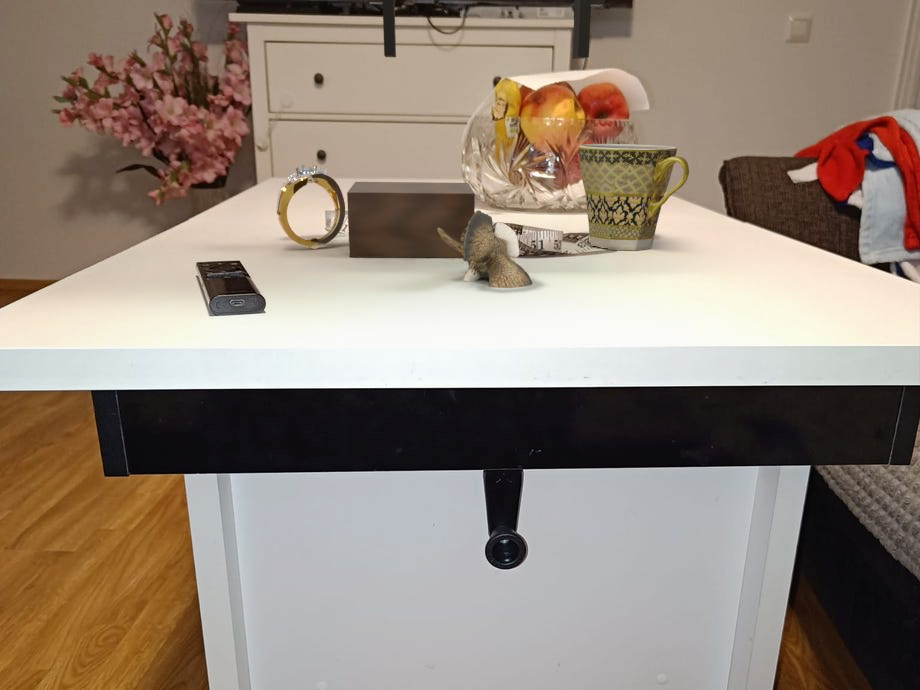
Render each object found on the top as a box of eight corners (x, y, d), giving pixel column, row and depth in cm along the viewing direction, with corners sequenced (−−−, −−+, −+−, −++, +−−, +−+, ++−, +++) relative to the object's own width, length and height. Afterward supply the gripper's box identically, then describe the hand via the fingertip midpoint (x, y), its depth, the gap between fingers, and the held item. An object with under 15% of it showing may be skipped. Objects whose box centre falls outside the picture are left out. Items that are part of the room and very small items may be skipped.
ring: (340, 244, 97) (336, 163, 94) (351, 248, 94) (348, 165, 91) (275, 248, 94) (269, 164, 91) (285, 252, 91) (279, 166, 88)
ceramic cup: (554, 243, 100) (558, 144, 96) (617, 236, 105) (624, 143, 102) (647, 260, 90) (655, 151, 87) (710, 251, 96) (721, 149, 93)
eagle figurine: (412, 272, 75) (440, 269, 67) (455, 194, 75) (489, 182, 67) (489, 320, 78) (526, 323, 69) (531, 245, 78) (572, 239, 69)
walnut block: (349, 257, 89) (347, 192, 87) (357, 239, 100) (355, 181, 98) (474, 257, 90) (474, 193, 88) (468, 240, 101) (468, 182, 99)
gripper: (278, -348, 54) (303, 53, 62) (700, -334, 55) (671, 56, 63) (295, -297, 61) (315, 58, 69) (669, -286, 62) (646, 60, 70)
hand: (485, 58), depth 66 cm, fingers open, 13 cm apart
